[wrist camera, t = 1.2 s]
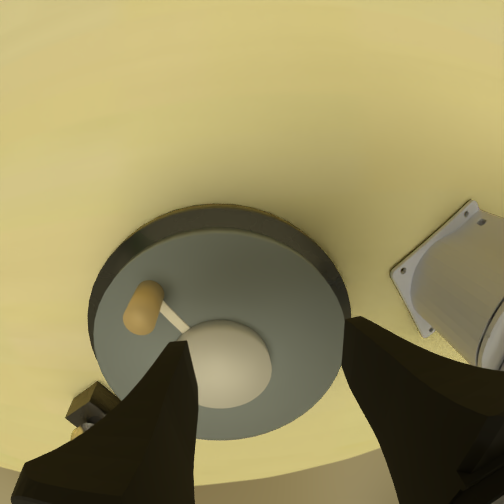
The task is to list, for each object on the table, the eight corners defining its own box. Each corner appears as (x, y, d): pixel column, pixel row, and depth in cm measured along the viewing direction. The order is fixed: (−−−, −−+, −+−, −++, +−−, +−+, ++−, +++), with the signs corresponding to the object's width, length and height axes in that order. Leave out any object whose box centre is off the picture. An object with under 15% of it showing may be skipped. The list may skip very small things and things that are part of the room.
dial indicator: (108, 373, 22) (88, 427, 17) (153, 409, 24) (144, 465, 18) (73, 398, 23) (52, 447, 17) (115, 431, 24) (102, 480, 19)
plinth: (241, 142, 18) (243, 142, 17) (381, 338, 24) (389, 348, 22) (51, 312, 20) (42, 322, 19) (209, 444, 26) (209, 456, 24)
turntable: (240, 167, 17) (248, 174, 13) (374, 350, 22) (401, 388, 18) (58, 327, 19) (31, 365, 15) (210, 449, 24) (211, 490, 20)
